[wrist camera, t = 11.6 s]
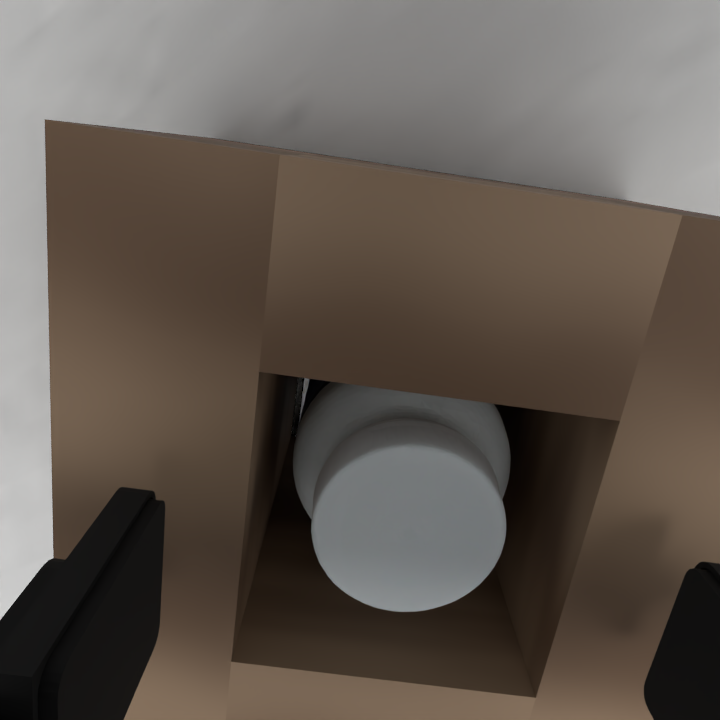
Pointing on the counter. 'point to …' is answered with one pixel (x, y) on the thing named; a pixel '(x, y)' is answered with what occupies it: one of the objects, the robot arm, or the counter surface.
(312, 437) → the pill bottle
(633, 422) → the socket block
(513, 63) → the counter surface
